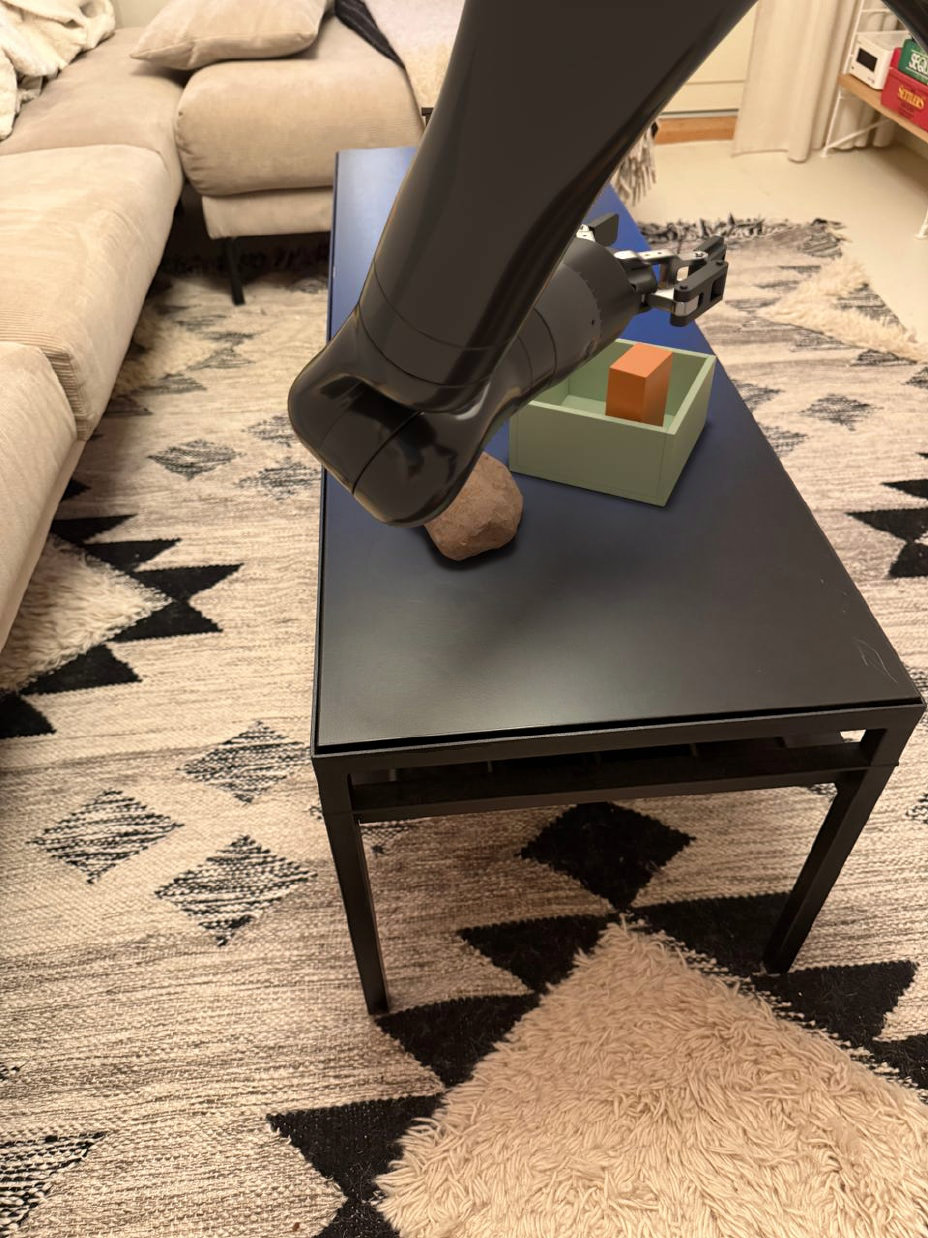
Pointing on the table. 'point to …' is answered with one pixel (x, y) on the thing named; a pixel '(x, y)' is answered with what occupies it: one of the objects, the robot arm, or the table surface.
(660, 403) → the block
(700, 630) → the table surface
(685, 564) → the table surface
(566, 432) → the bin
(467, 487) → the stone
